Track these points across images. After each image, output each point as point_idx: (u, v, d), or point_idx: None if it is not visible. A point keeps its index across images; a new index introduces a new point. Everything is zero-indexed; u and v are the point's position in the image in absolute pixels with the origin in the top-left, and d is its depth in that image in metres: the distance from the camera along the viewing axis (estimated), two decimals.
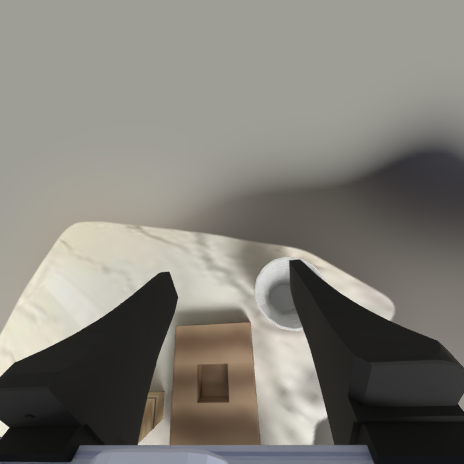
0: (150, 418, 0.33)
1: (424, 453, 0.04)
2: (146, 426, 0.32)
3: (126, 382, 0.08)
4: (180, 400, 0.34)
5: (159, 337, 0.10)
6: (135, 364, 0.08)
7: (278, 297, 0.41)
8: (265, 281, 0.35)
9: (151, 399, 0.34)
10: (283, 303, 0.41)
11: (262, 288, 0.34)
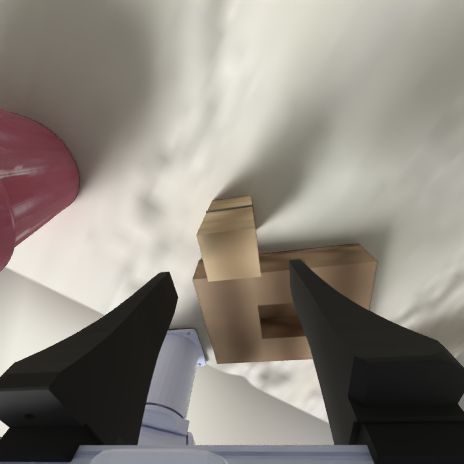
0: None
1: (423, 453, 0.04)
2: None
3: (126, 382, 0.08)
4: (258, 284, 0.21)
5: (159, 337, 0.10)
6: (135, 364, 0.08)
7: None
8: None
9: None
10: None
11: None
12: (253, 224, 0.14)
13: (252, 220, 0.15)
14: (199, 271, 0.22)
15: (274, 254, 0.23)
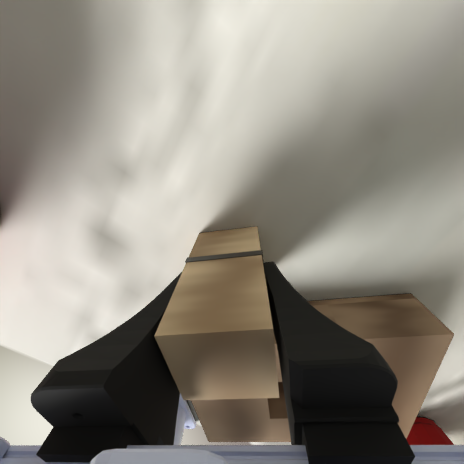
0: None
1: (352, 453, 0.05)
2: None
3: (163, 381, 0.08)
4: None
5: None
6: None
7: None
8: None
9: None
10: None
11: None
12: (268, 314, 0.07)
13: (265, 299, 0.08)
14: None
15: None
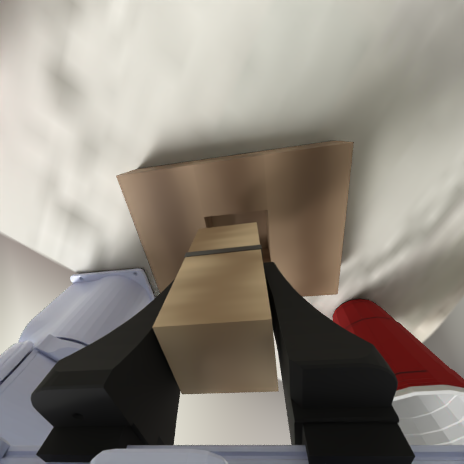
0: None
1: (352, 452, 0.05)
2: None
3: (163, 381, 0.08)
4: (201, 183, 0.16)
5: None
6: None
7: None
8: None
9: None
10: None
11: None
12: (266, 305, 0.07)
13: (263, 291, 0.08)
14: (130, 172, 0.17)
15: (228, 156, 0.18)
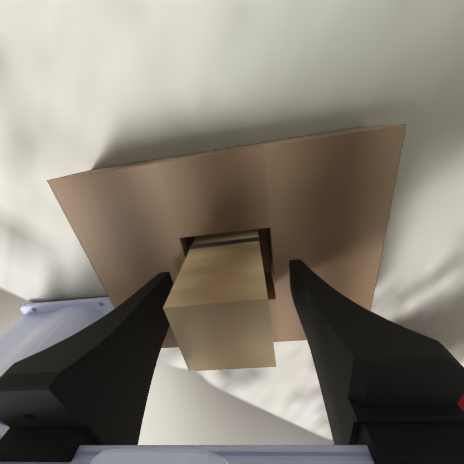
0: None
1: (424, 452, 0.04)
2: None
3: (126, 382, 0.08)
4: (172, 190, 0.11)
5: (159, 337, 0.10)
6: (135, 364, 0.08)
7: None
8: None
9: None
10: None
11: None
12: (263, 287, 0.08)
13: (261, 276, 0.09)
14: (72, 174, 0.12)
15: None
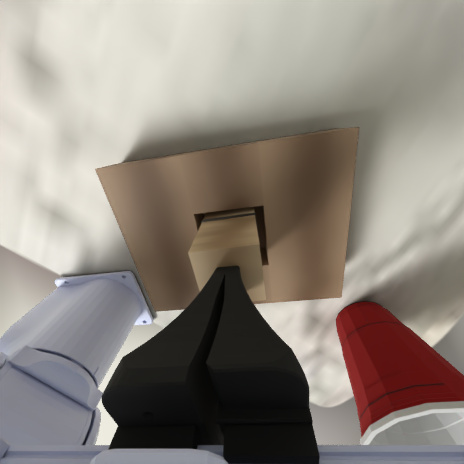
0: None
1: (263, 452, 0.05)
2: None
3: None
4: (189, 176, 0.15)
5: None
6: None
7: None
8: None
9: None
10: None
11: None
12: (257, 239, 0.12)
13: (255, 233, 0.12)
14: (111, 165, 0.16)
15: (220, 147, 0.17)
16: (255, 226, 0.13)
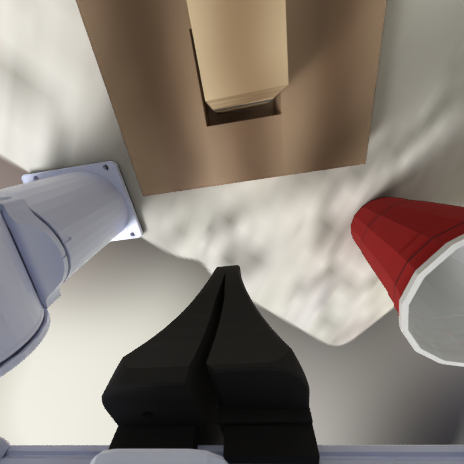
0: (238, 103, 0.13)
1: (263, 452, 0.05)
2: (229, 102, 0.12)
3: None
4: None
5: None
6: None
7: None
8: None
9: None
10: None
11: None
12: None
13: None
14: None
15: None
16: None
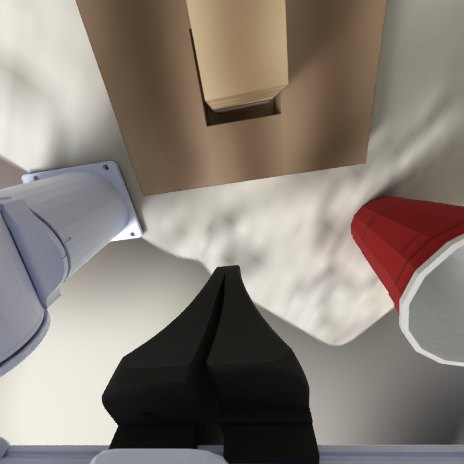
0: (238, 103, 0.13)
1: (263, 452, 0.05)
2: (228, 102, 0.12)
3: None
4: None
5: None
6: None
7: None
8: None
9: None
10: None
11: None
12: None
13: None
14: None
15: None
16: None
